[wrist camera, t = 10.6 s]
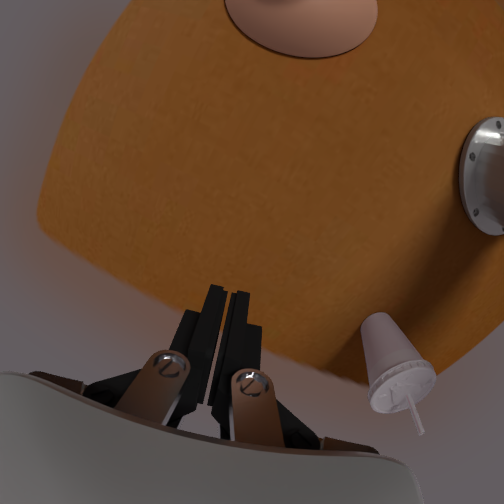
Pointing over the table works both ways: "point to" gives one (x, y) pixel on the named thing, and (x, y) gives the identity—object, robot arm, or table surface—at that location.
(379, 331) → the smoothie
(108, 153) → the table surface
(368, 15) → the pink flattened dome
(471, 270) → the table surface
